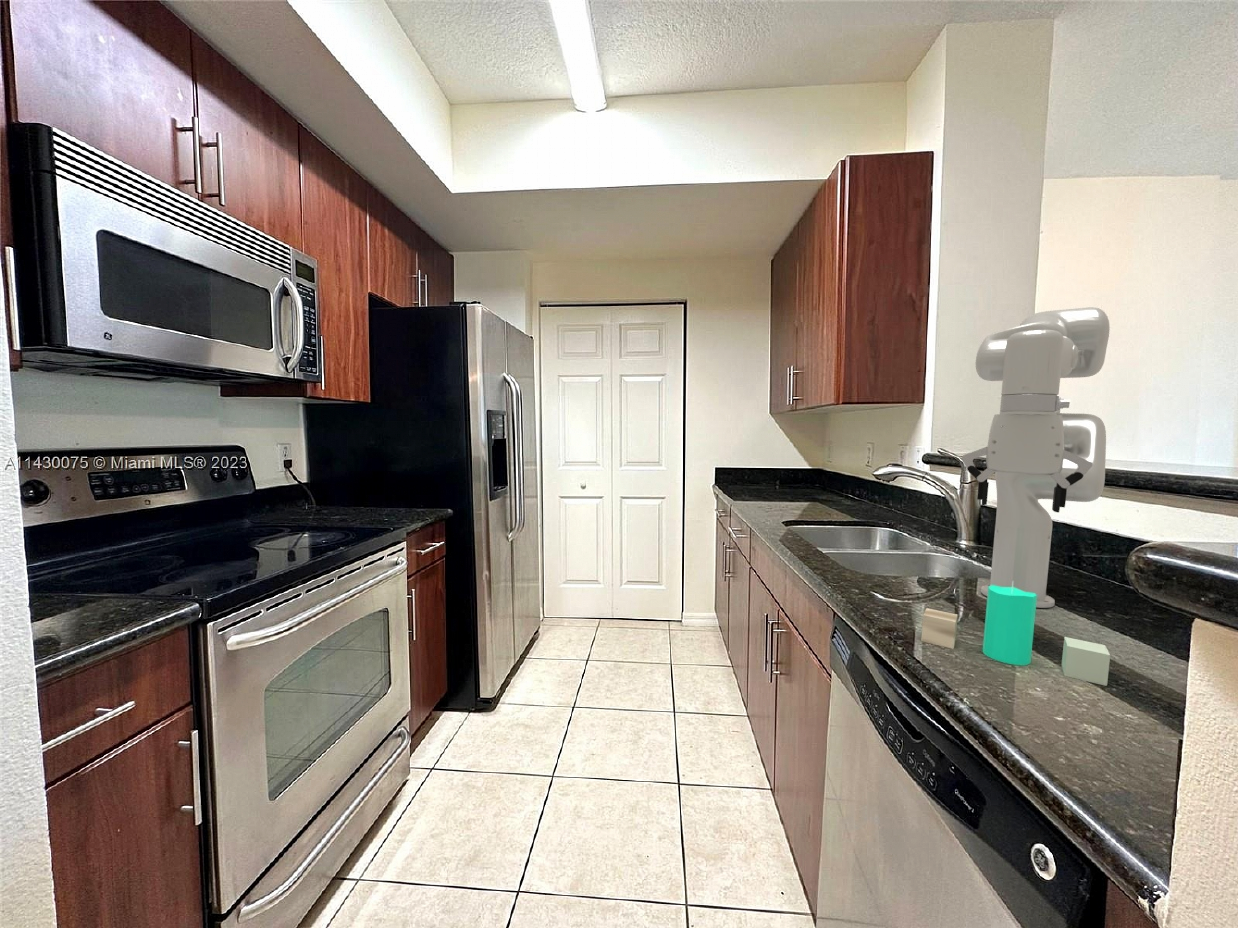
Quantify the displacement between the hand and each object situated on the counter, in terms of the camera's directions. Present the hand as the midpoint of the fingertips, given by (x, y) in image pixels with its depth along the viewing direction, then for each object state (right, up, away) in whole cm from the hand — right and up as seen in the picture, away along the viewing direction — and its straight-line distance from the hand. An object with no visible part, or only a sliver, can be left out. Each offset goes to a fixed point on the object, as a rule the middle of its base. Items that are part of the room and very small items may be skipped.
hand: (1018, 507), depth 87 cm
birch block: (-15, -22, -2) cm, 27 cm away
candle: (-8, -23, -7) cm, 25 cm away
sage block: (0, -23, -13) cm, 27 cm away
